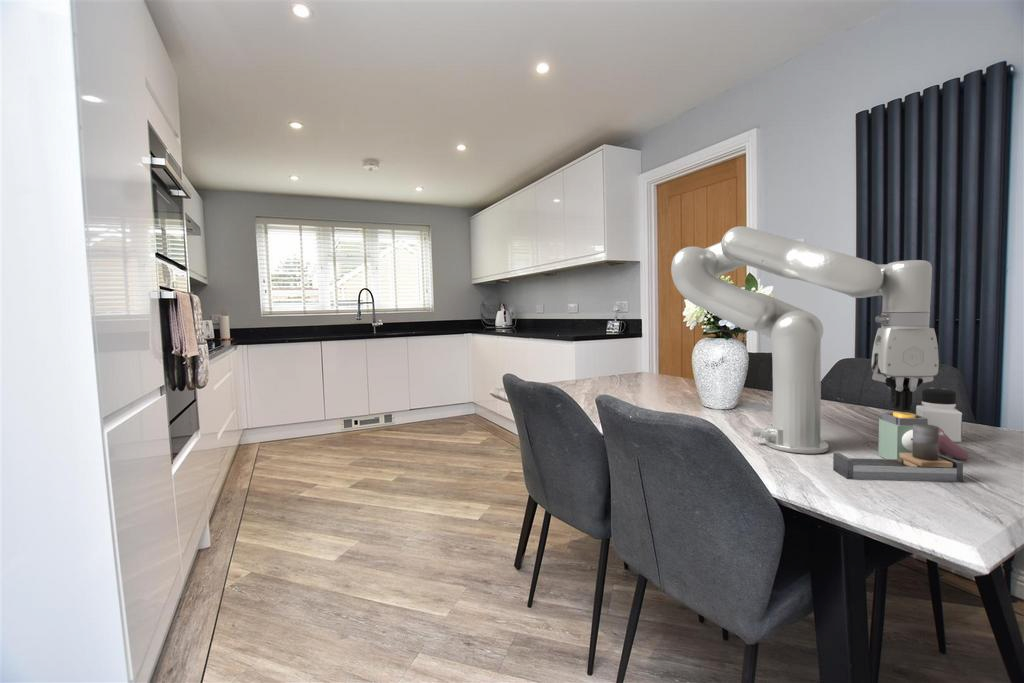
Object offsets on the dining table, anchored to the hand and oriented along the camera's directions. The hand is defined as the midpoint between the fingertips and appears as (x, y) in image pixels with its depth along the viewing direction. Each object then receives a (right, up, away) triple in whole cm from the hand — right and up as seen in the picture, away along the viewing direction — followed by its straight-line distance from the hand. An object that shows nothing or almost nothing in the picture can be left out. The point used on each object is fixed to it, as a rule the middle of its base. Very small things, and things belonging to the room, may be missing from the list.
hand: (900, 409), depth 96 cm
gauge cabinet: (+1, -11, 0) cm, 11 cm away
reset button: (+1, -3, 0) cm, 3 cm away
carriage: (-3, -10, -9) cm, 14 cm away
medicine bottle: (+22, -10, +16) cm, 29 cm away
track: (-8, -11, -8) cm, 16 cm away
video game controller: (+12, -11, +4) cm, 17 cm away
